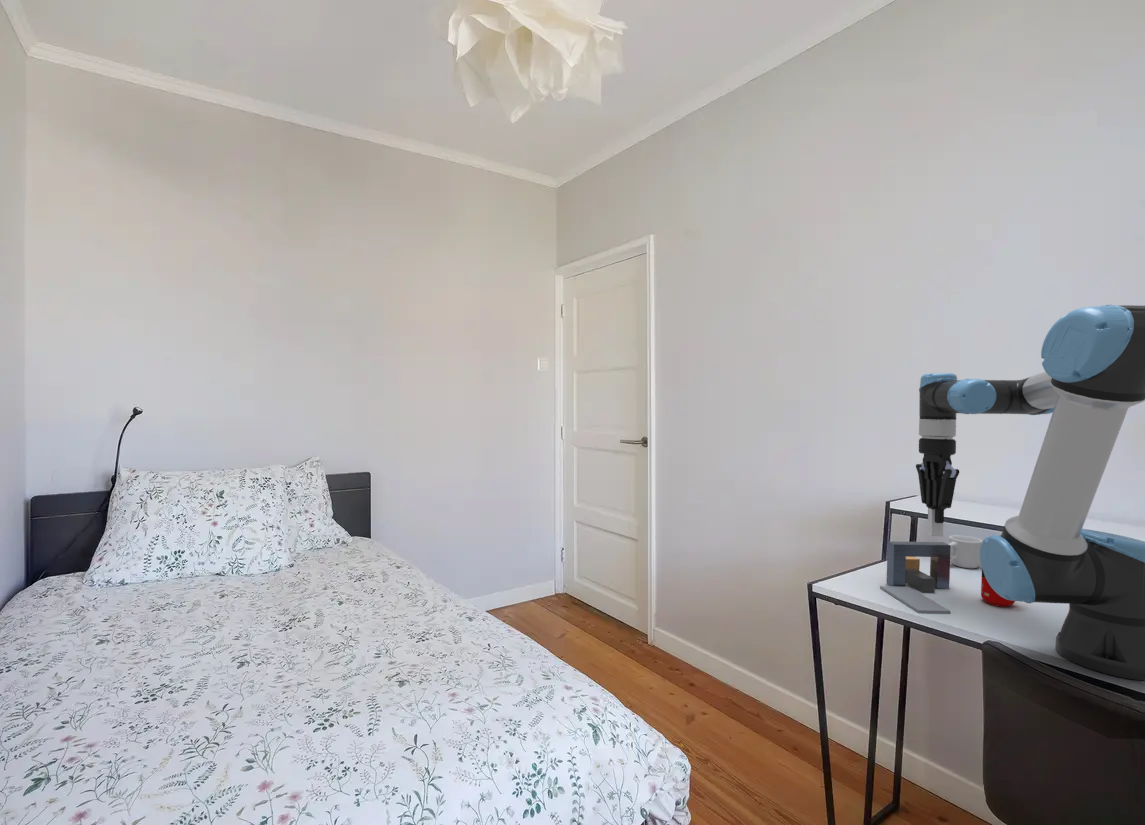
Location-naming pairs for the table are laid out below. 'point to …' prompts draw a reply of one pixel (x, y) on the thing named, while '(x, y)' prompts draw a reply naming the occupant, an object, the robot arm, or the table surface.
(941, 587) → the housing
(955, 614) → the table surface
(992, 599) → the beverage can
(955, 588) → the table surface
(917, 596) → the mat
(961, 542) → the cup
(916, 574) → the plug
